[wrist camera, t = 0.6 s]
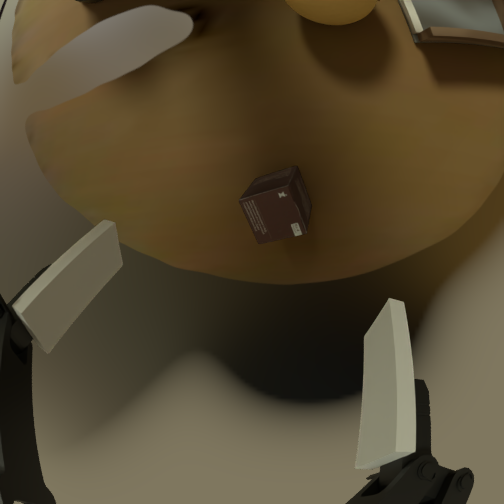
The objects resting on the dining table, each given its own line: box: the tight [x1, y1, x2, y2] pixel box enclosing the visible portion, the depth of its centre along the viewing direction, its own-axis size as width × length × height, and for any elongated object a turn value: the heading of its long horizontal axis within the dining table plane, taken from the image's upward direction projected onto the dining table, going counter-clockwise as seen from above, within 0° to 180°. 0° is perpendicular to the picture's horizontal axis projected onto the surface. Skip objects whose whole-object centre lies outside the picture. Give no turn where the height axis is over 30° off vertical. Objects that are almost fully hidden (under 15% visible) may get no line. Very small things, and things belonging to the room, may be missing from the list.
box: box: [239, 166, 312, 244], centre depth 33 cm, size 6×6×7 cm
